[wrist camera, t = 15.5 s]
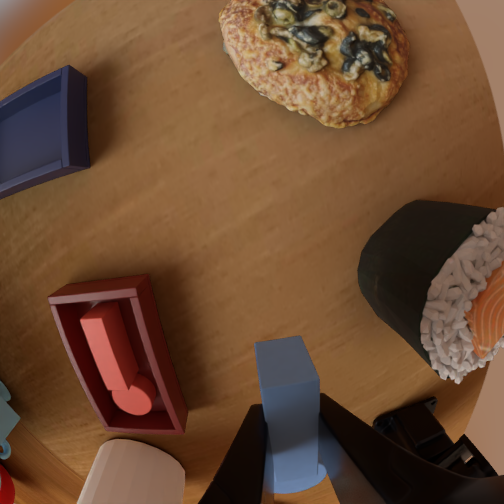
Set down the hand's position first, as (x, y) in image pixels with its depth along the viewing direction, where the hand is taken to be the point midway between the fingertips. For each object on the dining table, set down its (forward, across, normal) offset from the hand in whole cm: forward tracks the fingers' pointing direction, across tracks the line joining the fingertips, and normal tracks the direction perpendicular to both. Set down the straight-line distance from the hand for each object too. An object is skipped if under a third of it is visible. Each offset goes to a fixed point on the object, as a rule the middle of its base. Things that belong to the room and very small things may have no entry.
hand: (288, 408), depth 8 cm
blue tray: (+9, +14, -12) cm, 21 cm away
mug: (+9, +12, +17) cm, 22 cm away
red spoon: (+8, +9, +2) cm, 13 cm away
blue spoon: (+1, 0, +2) cm, 2 cm away
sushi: (+9, -10, -1) cm, 13 cm away
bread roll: (+9, -5, -15) cm, 18 cm away
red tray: (+9, +9, +2) cm, 13 cm away
